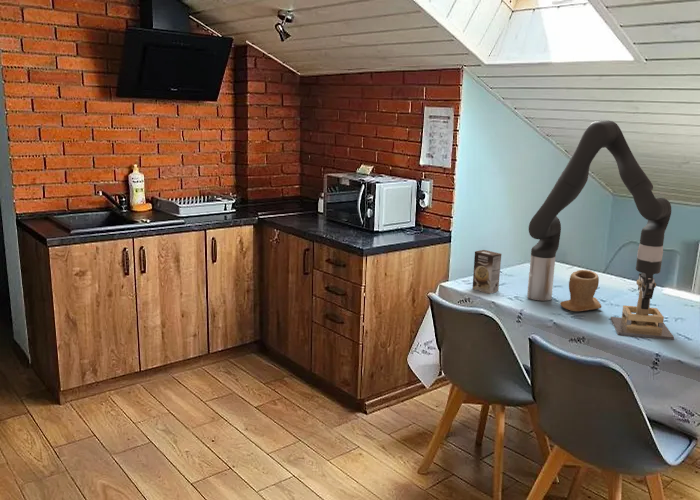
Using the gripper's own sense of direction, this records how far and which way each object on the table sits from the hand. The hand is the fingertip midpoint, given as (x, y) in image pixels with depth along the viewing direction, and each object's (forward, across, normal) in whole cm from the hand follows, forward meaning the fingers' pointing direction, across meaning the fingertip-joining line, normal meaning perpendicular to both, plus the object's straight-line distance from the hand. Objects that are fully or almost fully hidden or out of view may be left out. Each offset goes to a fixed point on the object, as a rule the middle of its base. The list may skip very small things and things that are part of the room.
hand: (643, 306), depth 208 cm
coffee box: (+9, -32, -53) cm, 63 cm away
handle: (+6, 0, 0) cm, 6 cm away
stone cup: (+8, -17, -17) cm, 25 cm away
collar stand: (+8, 0, 0) cm, 8 cm away
